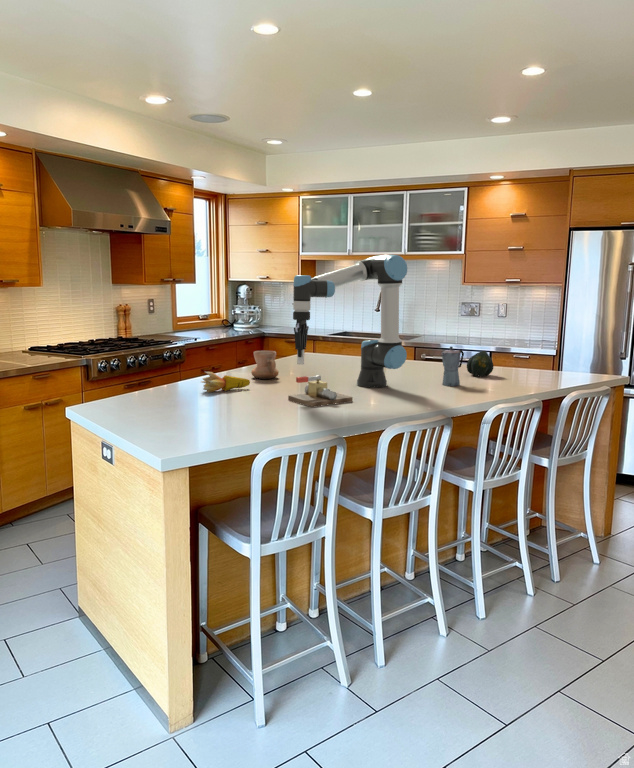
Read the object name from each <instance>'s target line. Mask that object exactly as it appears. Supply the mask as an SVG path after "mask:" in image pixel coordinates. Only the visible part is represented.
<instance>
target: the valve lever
mask: <svg viewBox="0 0 634 768" xmlns="http://www.w3.org/2000/svg"><path fill="white" fill-rule="evenodd" d="M313 381H322V376H321V375H320V374H316V375H314V376H307V375H305V376H304V375H303V376H296V377H295V382H296V383H297V384H300V383H308V382H313Z"/></svg>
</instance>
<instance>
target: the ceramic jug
mask: <svg viewBox="0 0 634 768" xmlns="http://www.w3.org/2000/svg"><path fill="white" fill-rule="evenodd" d="M276 357H277V352H276V351H275V350H255V351H253V358H254V361H255V363H256V366H255V367H254V368H253V369H252V370H251V376H252V377H254V378H256V379H258V378H259V379H260V380H271V379H274V378H276V377H278V375H279V370H278V368H277V364H276Z"/></svg>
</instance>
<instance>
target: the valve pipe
mask: <svg viewBox="0 0 634 768" xmlns="http://www.w3.org/2000/svg"><path fill="white" fill-rule="evenodd" d="M304 392H305V393H306V394H308V395H309V396H313V397H322V398H327V399H331V400H335V399H336V397H337V394H336V393H337V392H336V391H333V390H331V389H329V388H328V382H325V381H322V380H320V381H316V380H313V381H308V382H307V384H306V385H305V387H304ZM305 393H304V394H305Z"/></svg>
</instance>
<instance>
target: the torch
mask: <svg viewBox="0 0 634 768" xmlns="http://www.w3.org/2000/svg"><path fill="white" fill-rule="evenodd" d="M204 373H205V374H207V375H208V376H206V377H202V380H201V381H200V383H203V388H202V390H204V391H205V392H208V393H213V392H216V391H219V390H222V391H223V390H224V392H228V391H230V390H234V389H241V388H245V387H248V386H250V384H251V381H250V379H248V378H245V377H236V376H231V375H226V374H225V375H224V376H223V377H222V378H221V377H220V376H219V375H217V374H216V373H214V372H212V371H204ZM227 390H228V391H227Z"/></svg>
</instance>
